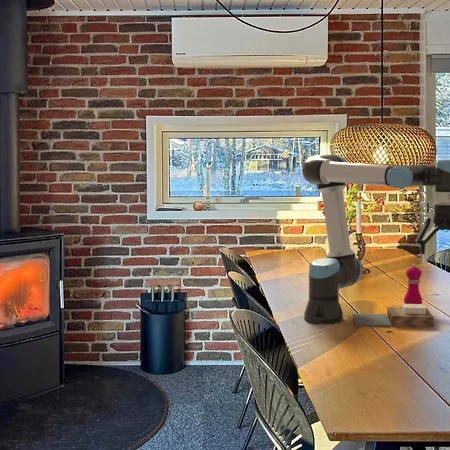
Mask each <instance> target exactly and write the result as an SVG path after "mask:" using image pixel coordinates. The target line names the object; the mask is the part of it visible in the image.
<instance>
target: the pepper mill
mask: <svg viewBox="0 0 450 450" xmlns="http://www.w3.org/2000/svg"><path fill="white" fill-rule="evenodd" d="M405 274H406V275H405V276H406V277H407V278H406V279H407V281H406V282H407V283H408V284H407V287H408V288H407V291H406V293H405V295H404V297H403V304H423V298H422V295H421V293H420V289H419V285H420V282H421V279H420V278H422V274H423V273H422V270H421V269H420V268H418V267H417V264H416V263H412V264H411V267H409V268H407V270H406V273H405Z"/></svg>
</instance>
